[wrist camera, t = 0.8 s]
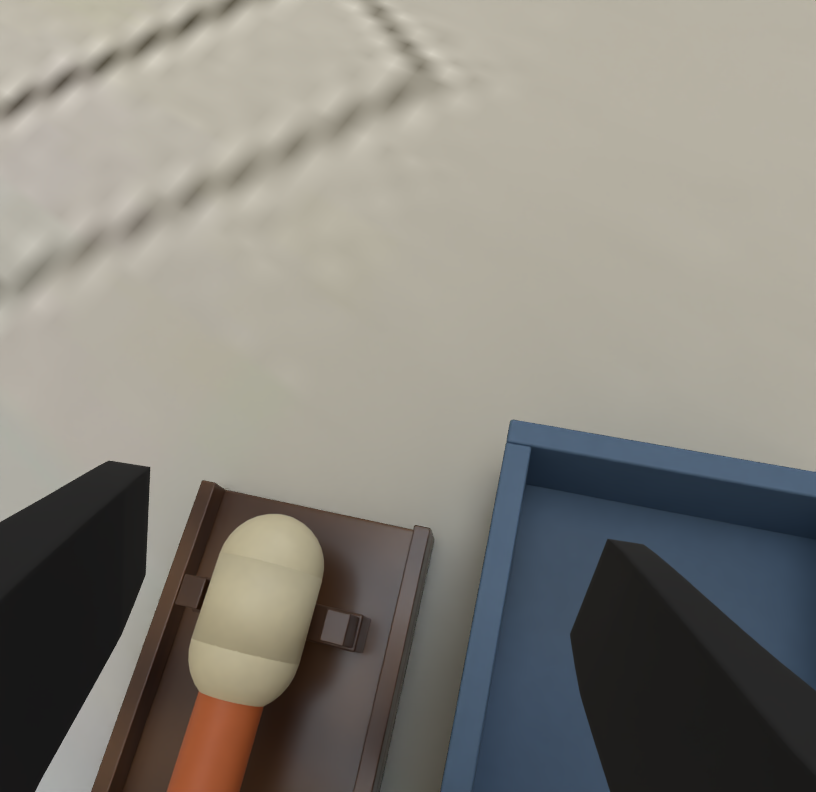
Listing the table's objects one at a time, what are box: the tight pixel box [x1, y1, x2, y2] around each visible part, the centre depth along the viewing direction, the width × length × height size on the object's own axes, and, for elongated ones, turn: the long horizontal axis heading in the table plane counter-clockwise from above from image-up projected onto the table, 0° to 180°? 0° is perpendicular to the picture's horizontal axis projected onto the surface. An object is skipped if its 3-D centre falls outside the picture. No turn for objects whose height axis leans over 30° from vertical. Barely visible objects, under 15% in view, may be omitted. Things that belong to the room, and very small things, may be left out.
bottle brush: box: [167, 514, 324, 792], centre depth 20 cm, size 12×3×3 cm, turn 167°
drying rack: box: [91, 480, 434, 792], centre depth 21 cm, size 15×9×5 cm, turn 167°
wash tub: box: [440, 420, 816, 792], centre depth 19 cm, size 17×12×5 cm
